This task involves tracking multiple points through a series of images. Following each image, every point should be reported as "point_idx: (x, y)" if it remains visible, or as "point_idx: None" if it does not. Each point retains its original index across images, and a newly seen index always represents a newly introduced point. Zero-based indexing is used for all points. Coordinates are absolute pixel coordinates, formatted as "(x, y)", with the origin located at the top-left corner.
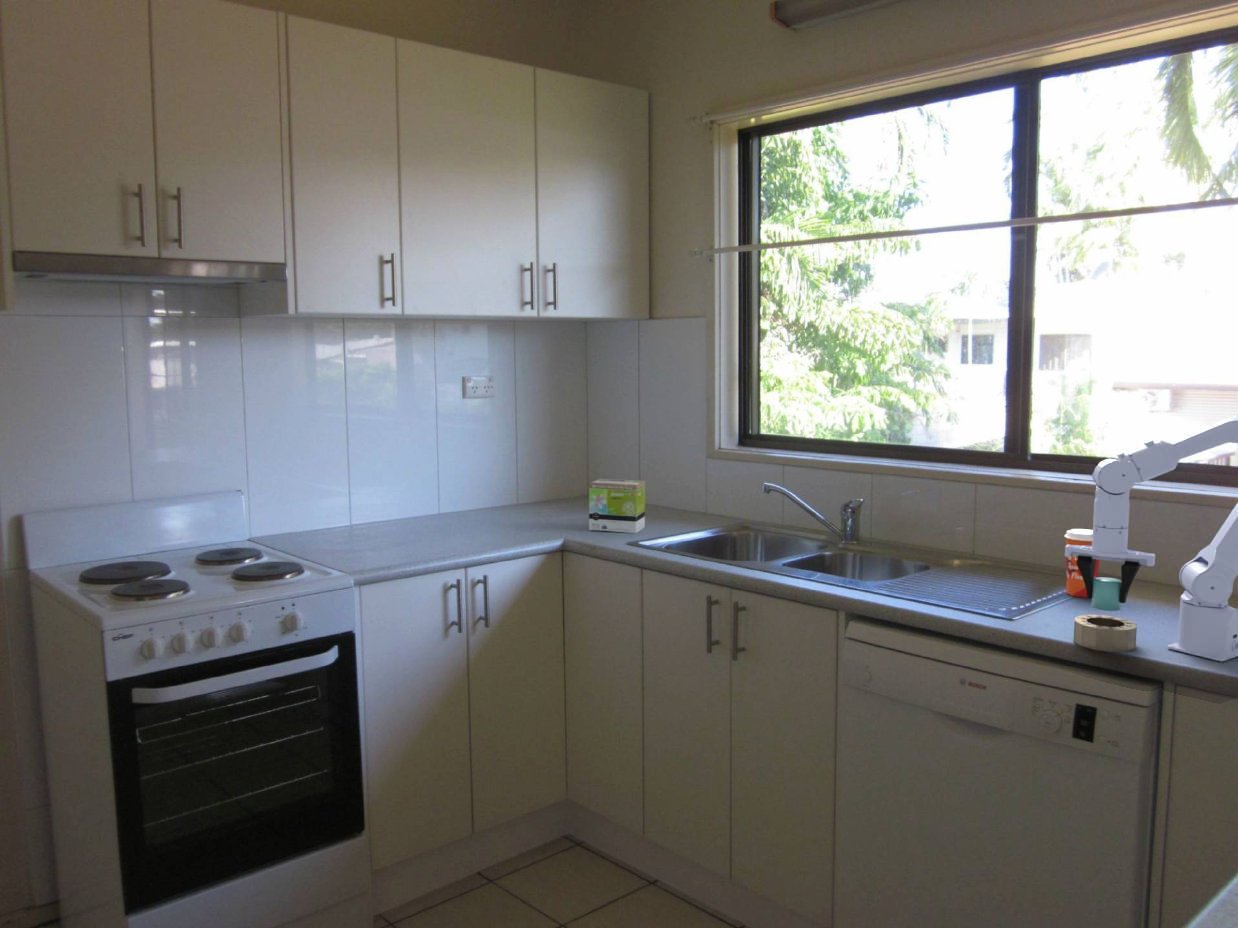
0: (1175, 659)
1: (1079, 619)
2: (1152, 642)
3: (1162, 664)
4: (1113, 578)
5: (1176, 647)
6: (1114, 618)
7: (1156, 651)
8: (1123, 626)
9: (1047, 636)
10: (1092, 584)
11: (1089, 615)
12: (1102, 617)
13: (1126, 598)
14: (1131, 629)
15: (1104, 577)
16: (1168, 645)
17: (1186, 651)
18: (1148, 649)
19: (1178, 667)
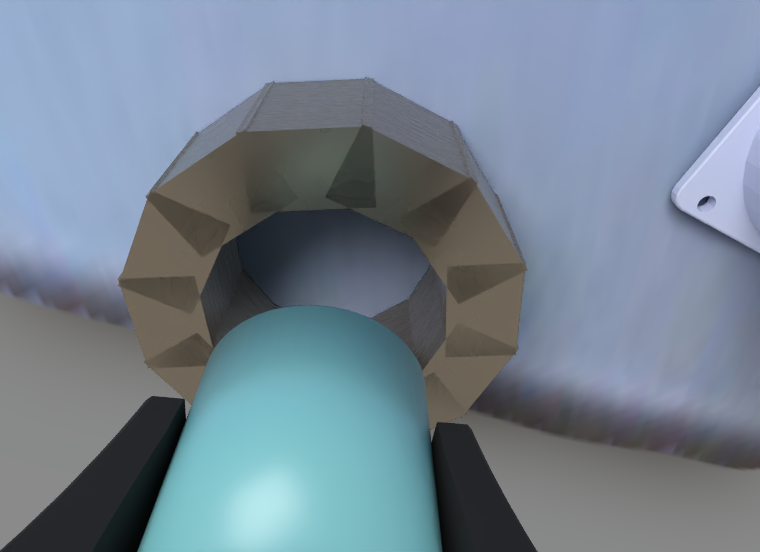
0: (658, 346)
1: (162, 325)
2: (611, 80)
3: (582, 428)
4: (338, 548)
5: (720, 212)
6: (376, 194)
7: (595, 261)
8: (438, 361)
9: (32, 243)
10: (135, 544)
11: (190, 186)
12: (289, 201)
13: (476, 445)
14: (482, 389)
15: (219, 544)
16: (684, 191)
17: (753, 249)
18: (560, 244)
19: (639, 436)
